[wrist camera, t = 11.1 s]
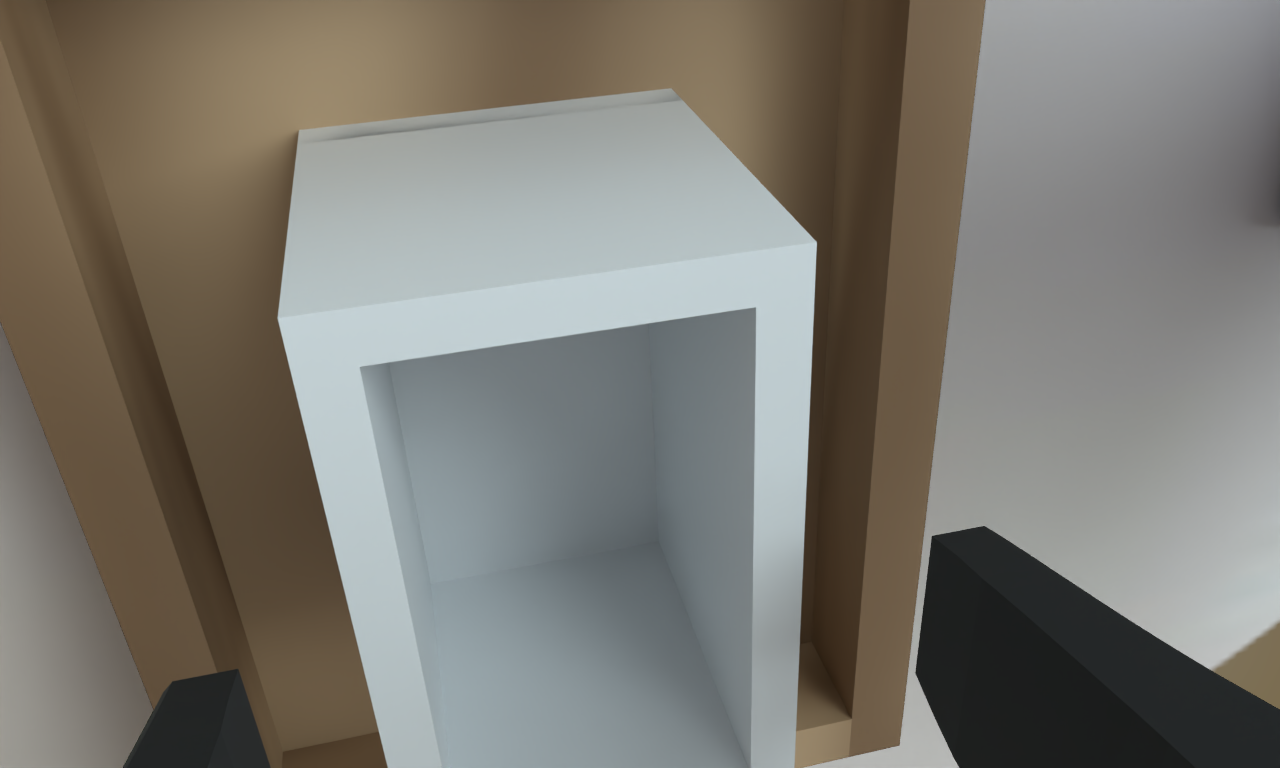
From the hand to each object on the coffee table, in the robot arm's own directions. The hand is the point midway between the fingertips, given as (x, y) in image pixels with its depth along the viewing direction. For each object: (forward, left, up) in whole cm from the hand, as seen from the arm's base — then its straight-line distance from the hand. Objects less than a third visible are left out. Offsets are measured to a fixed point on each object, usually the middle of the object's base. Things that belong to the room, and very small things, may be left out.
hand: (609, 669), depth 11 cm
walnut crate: (0, 0, -7) cm, 7 cm away
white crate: (0, 0, -6) cm, 6 cm away
